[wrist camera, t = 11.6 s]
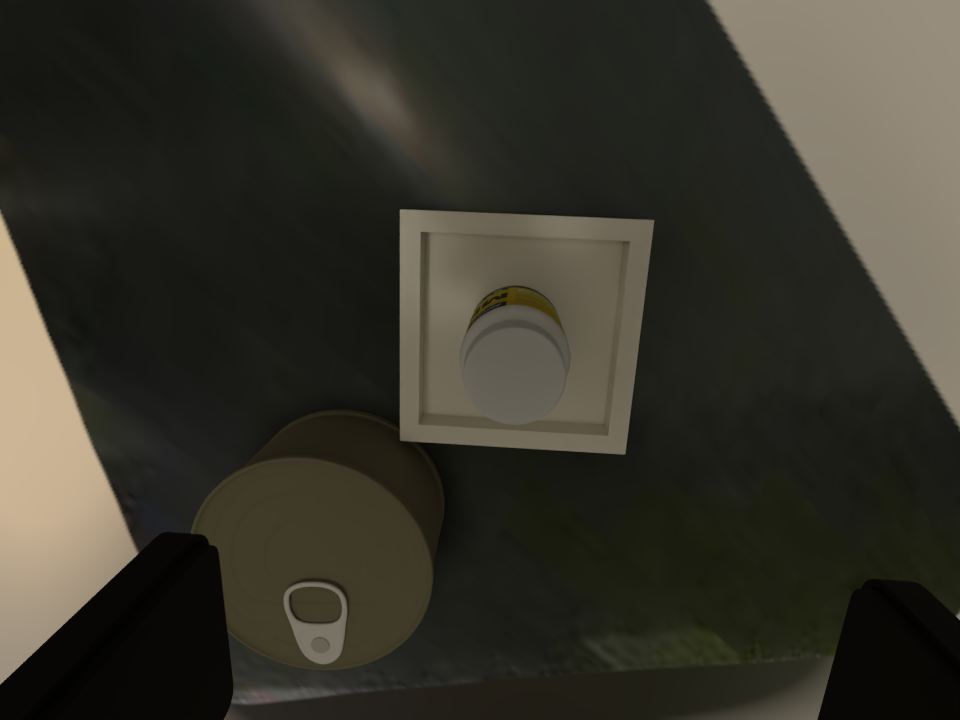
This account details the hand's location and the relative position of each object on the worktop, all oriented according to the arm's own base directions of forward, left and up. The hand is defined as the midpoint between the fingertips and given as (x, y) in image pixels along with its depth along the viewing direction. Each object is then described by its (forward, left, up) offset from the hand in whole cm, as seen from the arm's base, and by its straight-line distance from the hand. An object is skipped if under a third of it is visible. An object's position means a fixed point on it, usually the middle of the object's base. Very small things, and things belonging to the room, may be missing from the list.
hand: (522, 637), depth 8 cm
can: (+11, -9, -23) cm, 27 cm away
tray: (0, 0, -22) cm, 22 cm away
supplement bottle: (0, 0, -22) cm, 22 cm away
